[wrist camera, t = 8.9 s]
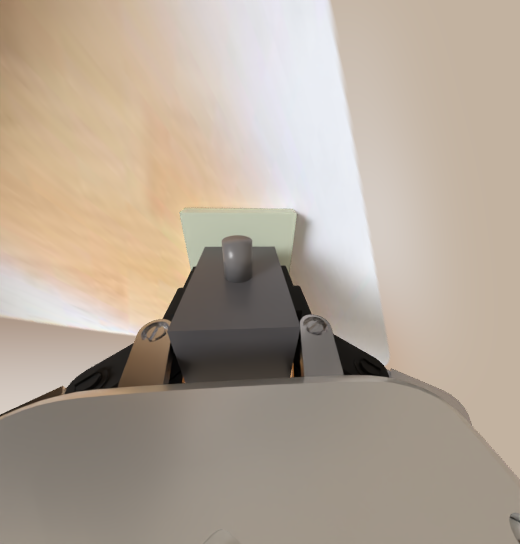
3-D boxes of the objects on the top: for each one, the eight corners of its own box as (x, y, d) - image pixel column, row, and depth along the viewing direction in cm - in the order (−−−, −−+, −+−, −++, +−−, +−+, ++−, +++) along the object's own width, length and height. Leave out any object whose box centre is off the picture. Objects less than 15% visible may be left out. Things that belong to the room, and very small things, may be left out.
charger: (200, 218, 10) (150, 288, 5) (276, 219, 10) (308, 284, 5) (214, 313, 13) (195, 411, 8) (269, 312, 14) (284, 405, 8)
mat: (185, 207, 12) (179, 212, 11) (292, 208, 12) (297, 213, 11) (202, 302, 16) (199, 312, 15) (281, 300, 16) (284, 310, 15)
